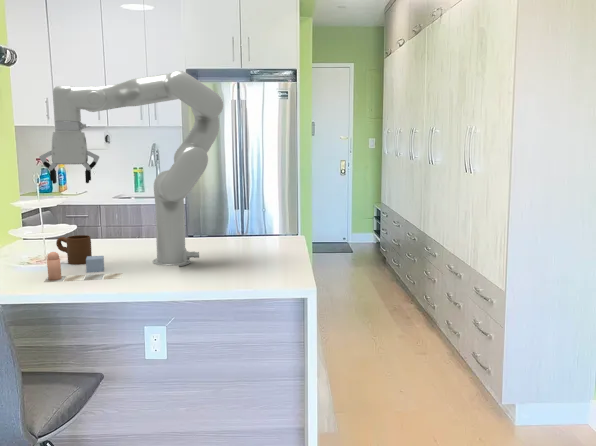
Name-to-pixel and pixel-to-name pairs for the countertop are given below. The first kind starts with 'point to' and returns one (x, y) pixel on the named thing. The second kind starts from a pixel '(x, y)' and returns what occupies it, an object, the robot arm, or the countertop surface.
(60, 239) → the mug
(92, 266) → the light blue cube
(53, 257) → the pawn
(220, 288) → the countertop surface
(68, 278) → the track
